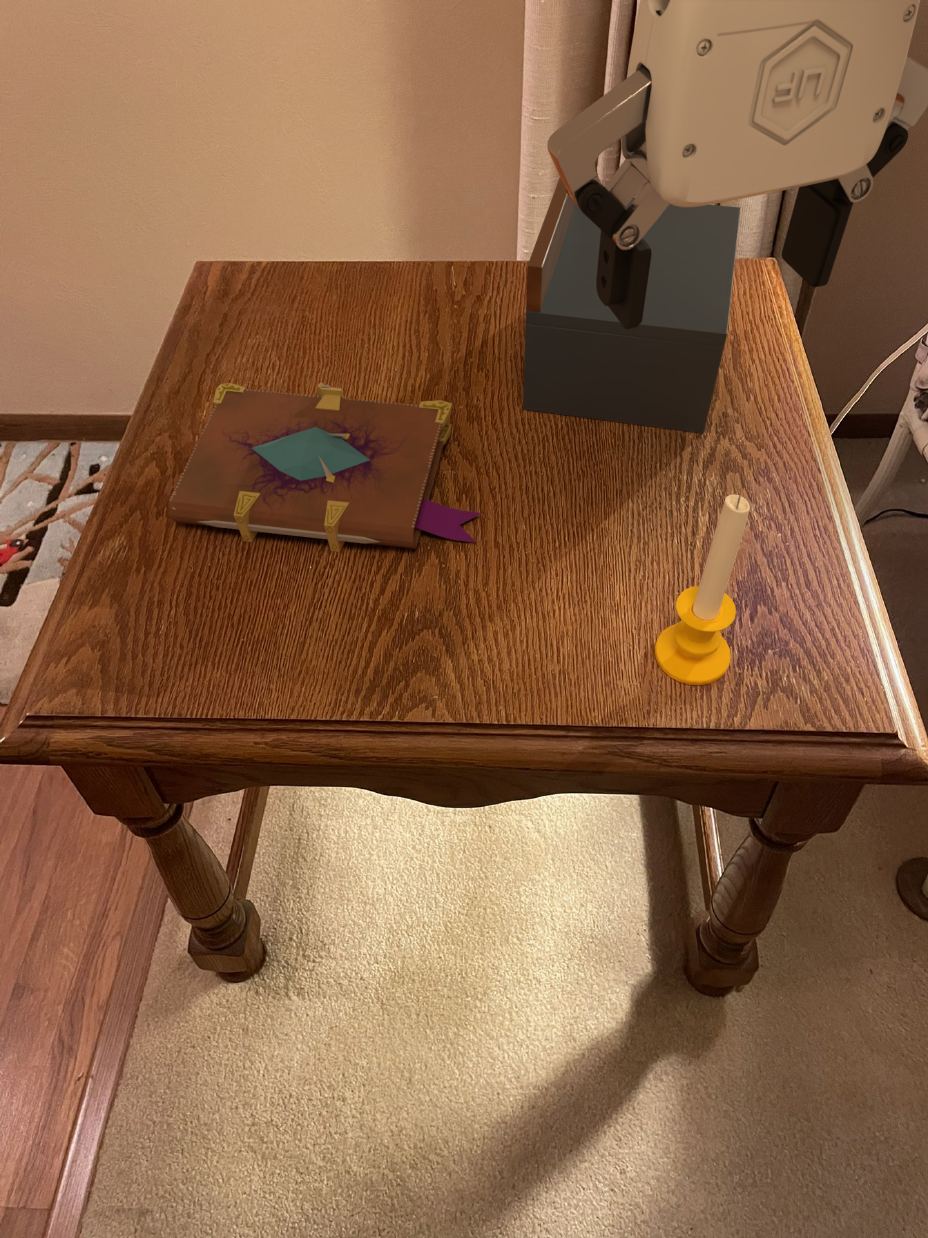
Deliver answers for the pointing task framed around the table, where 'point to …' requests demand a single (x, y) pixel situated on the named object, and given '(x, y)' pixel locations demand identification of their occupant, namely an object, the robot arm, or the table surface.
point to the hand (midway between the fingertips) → (713, 292)
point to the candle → (706, 608)
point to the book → (319, 468)
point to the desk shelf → (639, 357)
